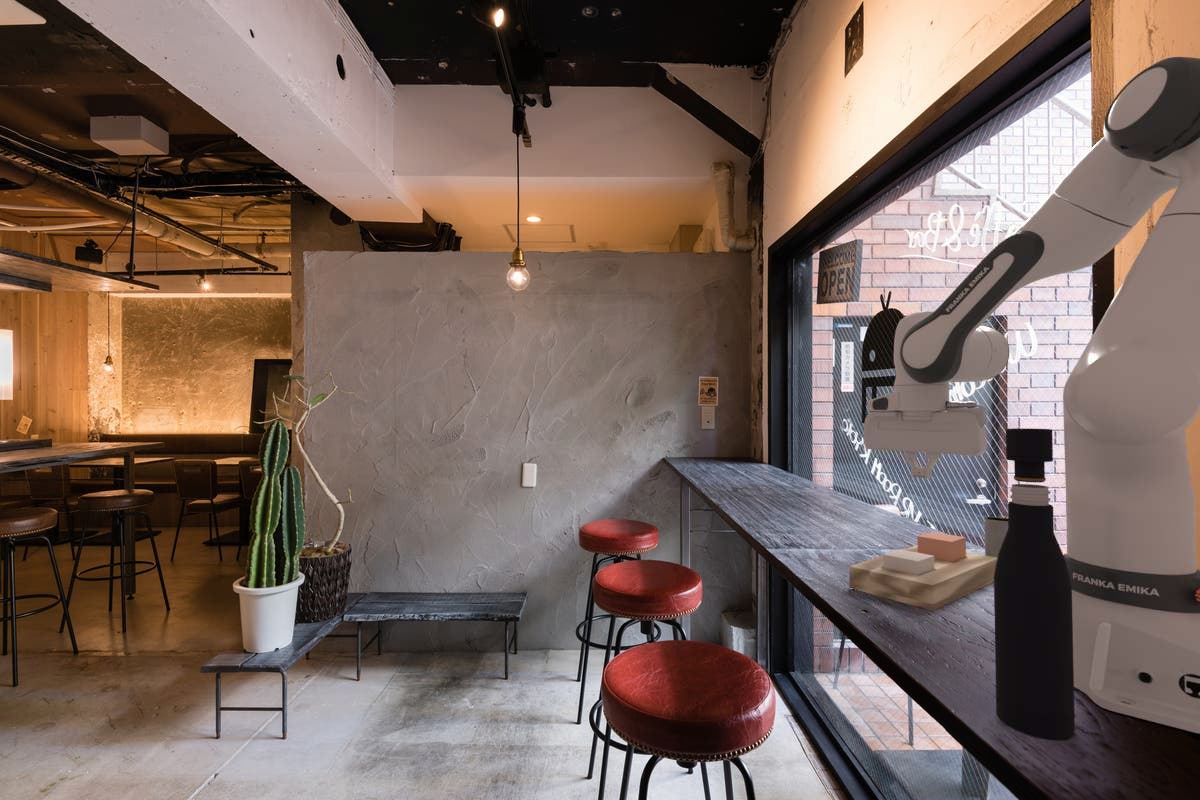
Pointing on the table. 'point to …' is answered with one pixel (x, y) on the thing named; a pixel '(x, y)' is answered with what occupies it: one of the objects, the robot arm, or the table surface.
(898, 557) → the beige block
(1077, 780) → the table surface
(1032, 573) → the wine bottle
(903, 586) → the light brown flat block
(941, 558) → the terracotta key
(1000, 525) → the planter
